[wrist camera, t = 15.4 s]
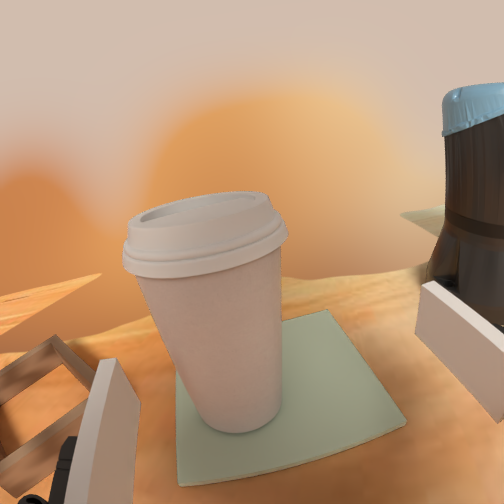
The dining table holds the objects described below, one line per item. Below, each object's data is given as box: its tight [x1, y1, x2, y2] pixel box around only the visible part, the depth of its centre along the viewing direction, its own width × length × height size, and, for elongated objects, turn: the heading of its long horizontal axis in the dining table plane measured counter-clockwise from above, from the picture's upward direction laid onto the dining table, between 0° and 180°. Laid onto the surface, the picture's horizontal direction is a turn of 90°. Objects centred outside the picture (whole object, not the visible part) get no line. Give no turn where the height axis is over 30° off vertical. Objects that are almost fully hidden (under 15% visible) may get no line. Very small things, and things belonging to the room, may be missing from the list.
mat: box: [176, 309, 407, 487], centre depth 24 cm, size 16×16×1 cm
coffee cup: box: [123, 191, 288, 433], centre depth 20 cm, size 10×10×15 cm
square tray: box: [0, 334, 96, 498], centre depth 21 cm, size 14×14×3 cm
